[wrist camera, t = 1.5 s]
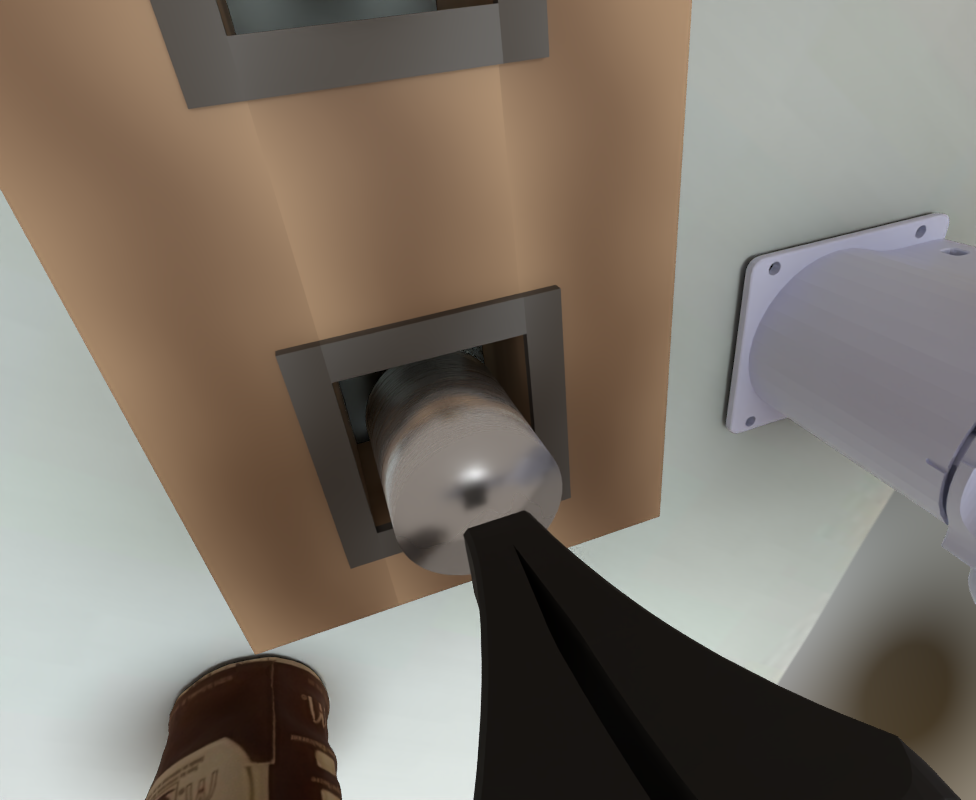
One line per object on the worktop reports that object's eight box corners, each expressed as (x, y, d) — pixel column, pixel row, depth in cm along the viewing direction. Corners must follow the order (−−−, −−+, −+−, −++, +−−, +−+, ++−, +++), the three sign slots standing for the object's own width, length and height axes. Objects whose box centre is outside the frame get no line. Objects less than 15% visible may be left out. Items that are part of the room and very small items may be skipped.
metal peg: (491, 333, 16) (558, 412, 12) (505, 447, 18) (565, 544, 14) (350, 368, 15) (375, 465, 11) (382, 483, 17) (412, 596, 14)
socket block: (590, -524, 11) (757, -837, 7) (600, 448, 24) (664, 521, 20) (-283, -599, 8) (-770, -1189, 4) (257, 553, 21) (255, 663, 17)
